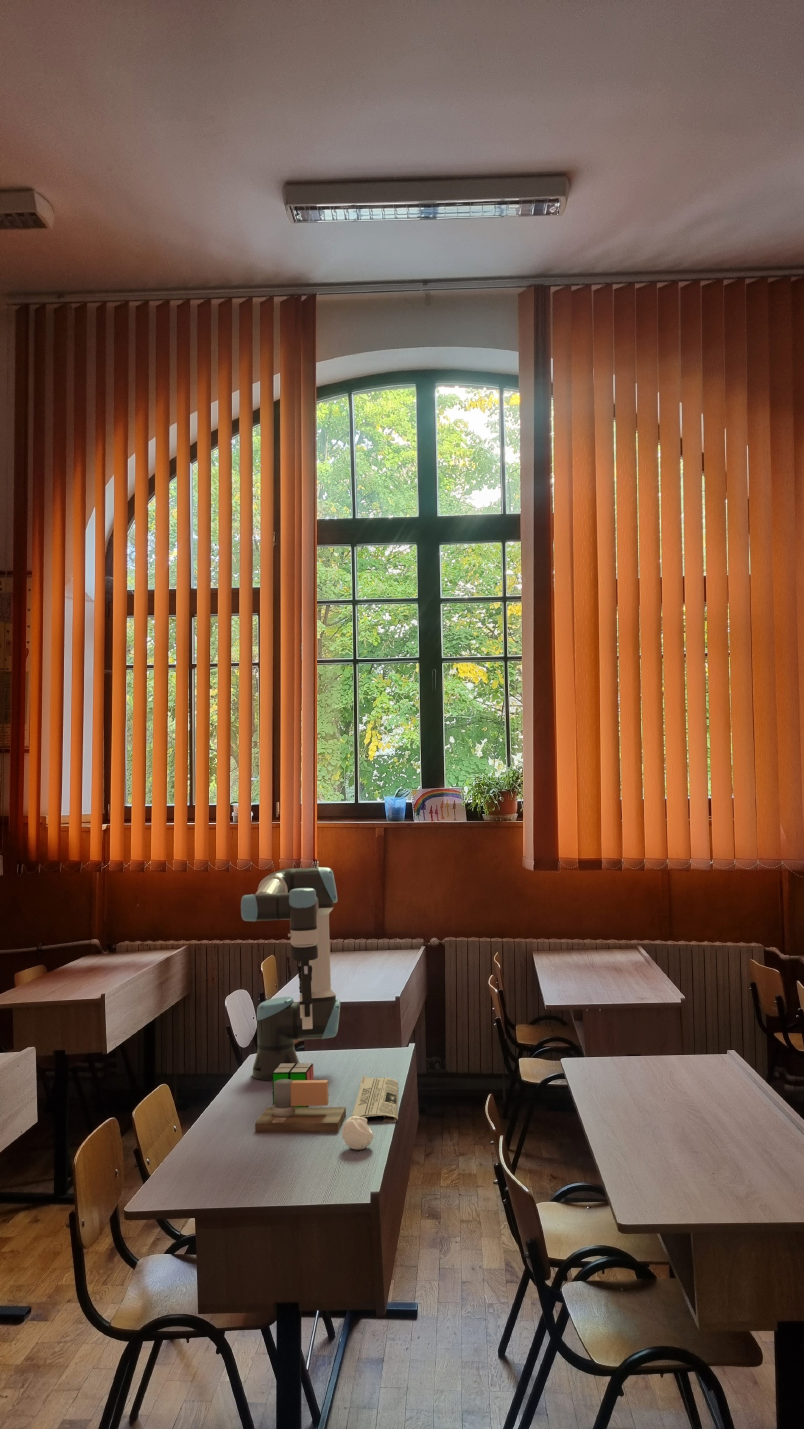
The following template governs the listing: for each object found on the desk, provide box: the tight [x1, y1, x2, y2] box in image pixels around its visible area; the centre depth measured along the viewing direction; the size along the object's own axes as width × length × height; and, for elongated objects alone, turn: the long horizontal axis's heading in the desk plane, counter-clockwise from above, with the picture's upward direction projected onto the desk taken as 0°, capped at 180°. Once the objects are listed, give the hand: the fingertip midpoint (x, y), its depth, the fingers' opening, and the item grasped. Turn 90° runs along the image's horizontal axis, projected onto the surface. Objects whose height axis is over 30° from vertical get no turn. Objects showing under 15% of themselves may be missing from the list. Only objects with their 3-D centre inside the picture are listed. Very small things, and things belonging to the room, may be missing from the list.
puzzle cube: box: [271, 1062, 315, 1107], centre depth 278 cm, size 10×10×10 cm
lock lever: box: [273, 1079, 330, 1108], centre depth 261 cm, size 5×14×6 cm, turn 84°
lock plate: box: [254, 1104, 347, 1134], centre depth 259 cm, size 13×22×4 cm, turn 84°
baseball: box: [341, 1116, 374, 1151], centre depth 239 cm, size 8×8×8 cm
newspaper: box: [351, 1075, 399, 1123], centre depth 275 cm, size 35×12×4 cm, turn 0°
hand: (306, 1023), depth 267 cm, fingers open, 13 cm apart
